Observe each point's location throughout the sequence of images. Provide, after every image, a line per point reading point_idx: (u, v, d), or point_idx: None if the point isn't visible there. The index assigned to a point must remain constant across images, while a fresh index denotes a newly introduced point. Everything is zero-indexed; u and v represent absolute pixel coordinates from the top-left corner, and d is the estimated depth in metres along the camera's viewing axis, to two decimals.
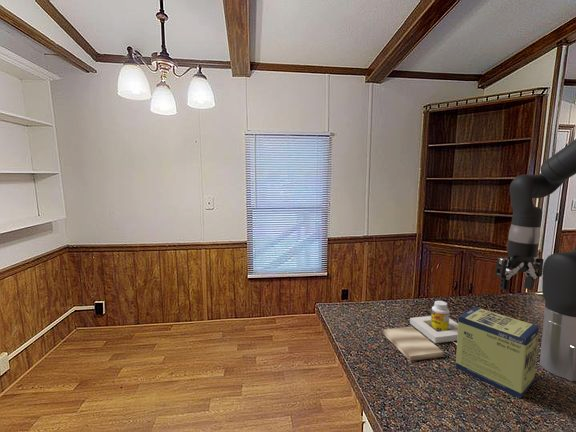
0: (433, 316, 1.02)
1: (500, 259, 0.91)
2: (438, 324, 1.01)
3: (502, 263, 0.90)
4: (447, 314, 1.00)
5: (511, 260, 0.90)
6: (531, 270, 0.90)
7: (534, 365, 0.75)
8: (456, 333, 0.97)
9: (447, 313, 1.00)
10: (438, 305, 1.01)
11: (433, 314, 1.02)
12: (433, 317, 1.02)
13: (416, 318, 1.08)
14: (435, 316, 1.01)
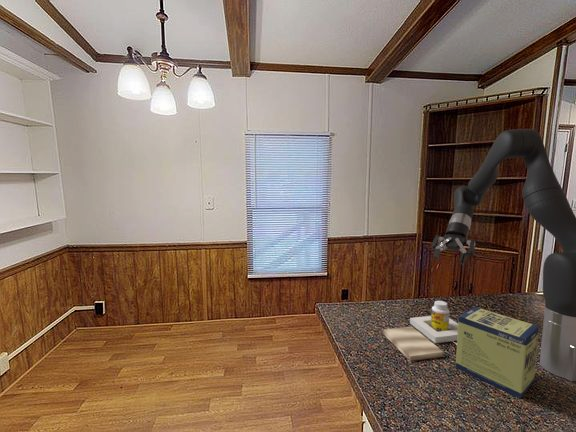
0: (433, 316, 1.02)
1: None
2: (438, 324, 1.01)
3: None
4: (447, 314, 1.00)
5: (443, 237, 1.16)
6: (459, 244, 1.10)
7: (534, 365, 0.75)
8: (456, 333, 0.97)
9: (447, 313, 1.00)
10: (438, 305, 1.01)
11: (433, 314, 1.02)
12: (433, 317, 1.02)
13: (416, 318, 1.08)
14: (435, 316, 1.01)
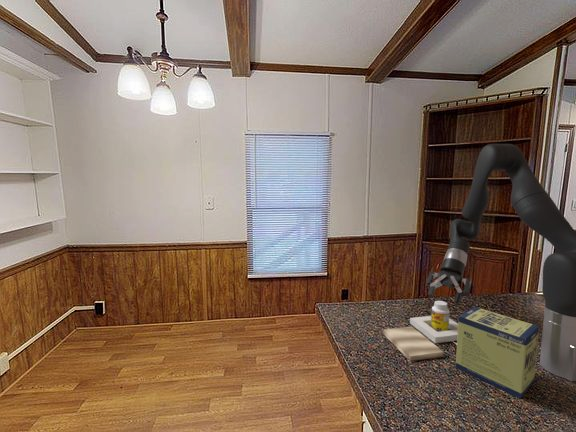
0: (433, 316, 1.02)
1: None
2: (438, 324, 1.01)
3: None
4: (447, 314, 1.00)
5: (438, 273, 1.12)
6: (454, 283, 1.06)
7: (534, 365, 0.75)
8: (456, 333, 0.97)
9: (447, 313, 1.00)
10: (438, 305, 1.01)
11: (433, 314, 1.02)
12: (433, 317, 1.02)
13: (416, 318, 1.08)
14: (435, 316, 1.01)
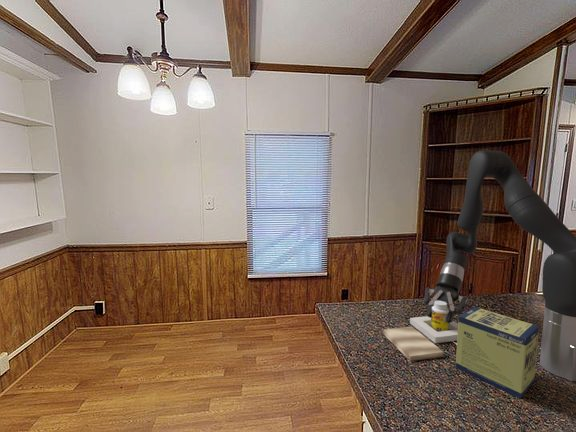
0: (433, 316, 1.02)
1: None
2: (438, 324, 1.01)
3: None
4: (447, 314, 1.00)
5: (433, 289, 1.08)
6: (449, 300, 1.02)
7: (534, 365, 0.75)
8: (456, 333, 0.97)
9: (447, 313, 1.00)
10: (438, 305, 1.01)
11: (433, 313, 1.02)
12: (433, 317, 1.02)
13: (416, 318, 1.08)
14: (435, 316, 1.01)
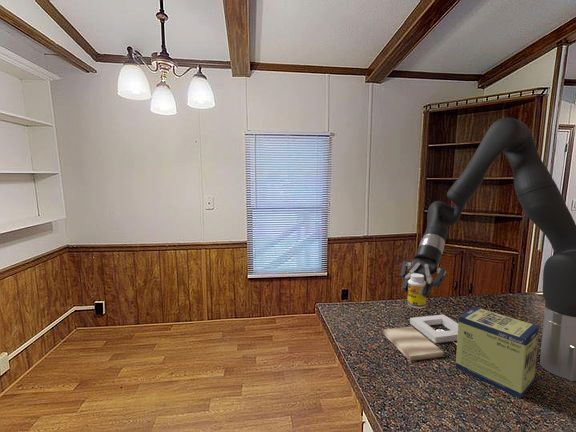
0: (409, 290, 0.94)
1: None
2: (413, 298, 0.93)
3: None
4: (423, 287, 0.92)
5: (411, 262, 1.00)
6: (426, 272, 0.94)
7: (534, 365, 0.75)
8: (456, 333, 0.97)
9: (423, 286, 0.92)
10: (414, 277, 0.93)
11: (409, 287, 0.94)
12: (409, 291, 0.94)
13: (416, 318, 1.08)
14: (410, 290, 0.93)
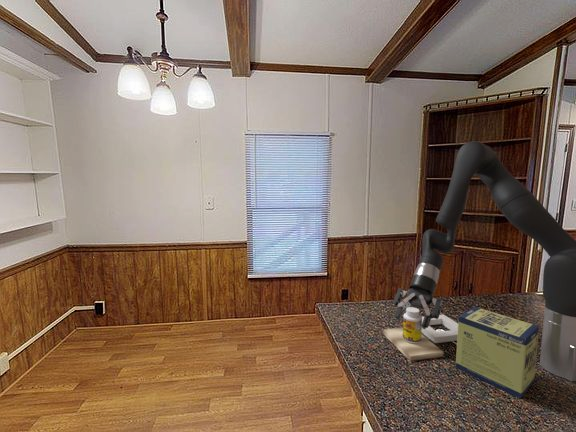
0: (404, 324, 0.94)
1: None
2: (409, 333, 0.92)
3: None
4: (419, 322, 0.91)
5: (406, 291, 1.00)
6: (423, 304, 0.93)
7: (534, 365, 0.75)
8: (456, 333, 0.97)
9: (419, 321, 0.91)
10: (410, 312, 0.92)
11: (405, 321, 0.93)
12: (404, 325, 0.94)
13: None
14: (406, 325, 0.93)
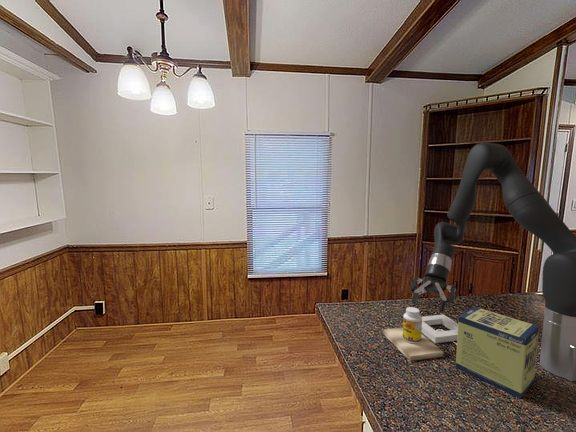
0: (404, 324, 0.94)
1: None
2: (409, 333, 0.92)
3: None
4: (419, 322, 0.91)
5: (422, 279, 1.08)
6: (439, 290, 1.02)
7: (534, 365, 0.75)
8: (456, 333, 0.97)
9: (419, 321, 0.91)
10: (410, 312, 0.92)
11: (405, 321, 0.93)
12: (404, 325, 0.94)
13: None
14: (406, 325, 0.93)
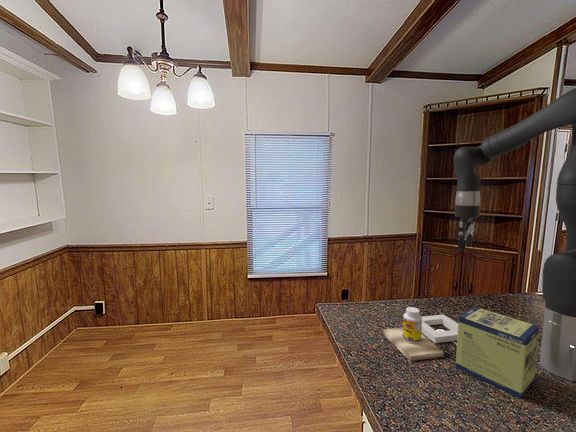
0: (404, 324, 0.94)
1: (460, 223, 1.00)
2: (409, 333, 0.92)
3: (463, 226, 1.00)
4: (419, 322, 0.91)
5: (466, 222, 1.02)
6: (473, 229, 1.06)
7: (534, 365, 0.75)
8: (456, 333, 0.97)
9: (419, 321, 0.91)
10: (410, 312, 0.92)
11: (405, 321, 0.93)
12: (404, 325, 0.94)
13: None
14: (406, 325, 0.93)
